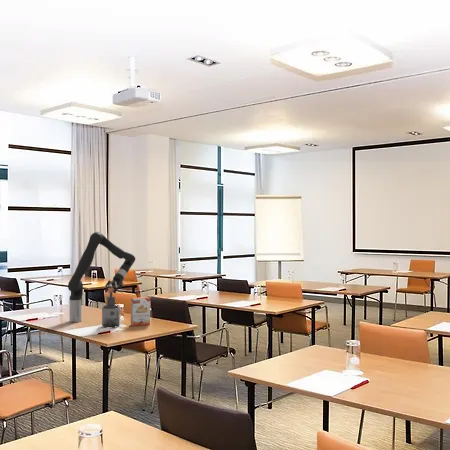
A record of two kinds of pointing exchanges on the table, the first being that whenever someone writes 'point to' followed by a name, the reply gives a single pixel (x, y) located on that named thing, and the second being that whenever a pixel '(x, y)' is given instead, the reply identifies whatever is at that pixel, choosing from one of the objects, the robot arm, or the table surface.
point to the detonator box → (110, 313)
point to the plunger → (110, 291)
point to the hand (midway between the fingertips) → (109, 292)
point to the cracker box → (140, 311)
